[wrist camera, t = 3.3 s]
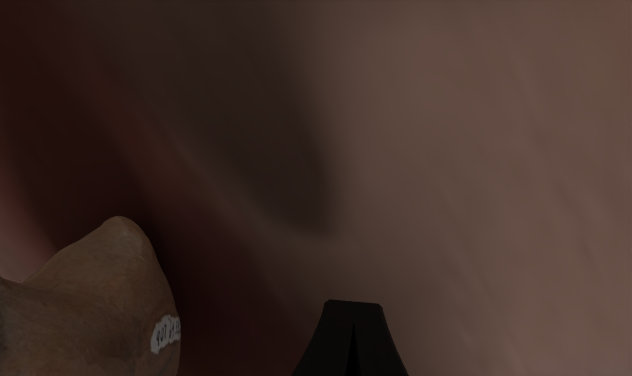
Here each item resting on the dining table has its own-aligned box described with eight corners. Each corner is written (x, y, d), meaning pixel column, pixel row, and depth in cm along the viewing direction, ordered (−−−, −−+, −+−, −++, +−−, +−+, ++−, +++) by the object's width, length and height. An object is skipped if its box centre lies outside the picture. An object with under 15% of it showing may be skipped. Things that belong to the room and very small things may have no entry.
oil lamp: (30, 110, 14) (-319, 322, 7) (181, 114, 13) (-19, 341, 6) (98, 360, 18) (-75, 653, 11) (213, 368, 18) (113, 673, 11)
